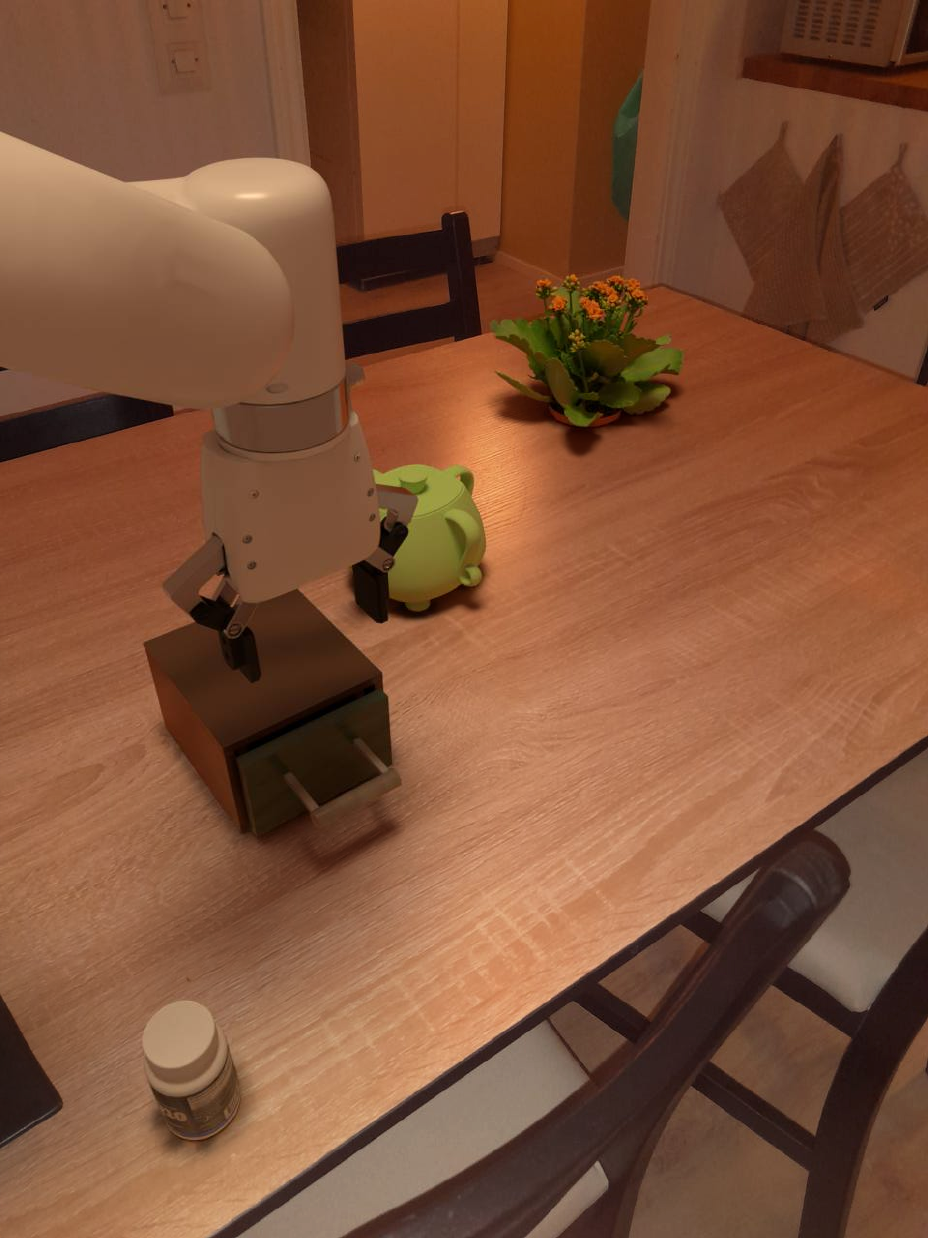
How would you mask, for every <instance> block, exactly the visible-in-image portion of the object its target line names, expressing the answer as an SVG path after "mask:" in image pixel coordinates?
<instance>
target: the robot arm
mask: <svg viewBox="0 0 928 1238" xmlns="http://www.w3.org/2000/svg"><path fill="white" fill-rule="evenodd" d="M335 231H336V230H335V216H334V210H333V202H332V196H331V193H330V189H329V187H328V185H327V183H326V181H325V180H324V179H323V177H322V176H321V175H320V174H319V173H318V172H317V171H316V170H314V169H313V168H311V167H310V166H309V165H306V164H303V163H300V162H297V161H293V160H289V159H283V158H275V157H243V158H232V159H227V160H220V161H217V162H216V161H215V162H213V163H209V164H207V165H204V166H202V167H199V168H197V169H195V170H193V171H191V172H190V173H188V175H185V176H180V177H172V178H171V177H170V178H165V179H164V178H163V179H154V180H152V179H151V180H140V181H122V180H121V179H118V178H115V177H113V176H110V175H108V174H105V173H103V172H100V171H98V170H95V169H93V168H91V167H88V166H85V165H83V164H81V163H78V162H75V161H74V160H71V159H68V158H65V157H63V156H61V155H58V154H57V153H56V154H55V153H54V152H51V151H49V150H46V149H44V148H41V147H39V146H37V145H35V144H31V143H29V142H27V141H25V140H22V139H20V138H17V137H15V136H13V135H9V134H7V133H5V132H3V131H0V367H1V368H4V369H8V370H10V371H11V370H12V371H15V372H19V373H23V374H25V375H31V376H34V377H38V378H42V379H46V380H49V381H53V382H58V383H62V384H66V385H71V386H74V387H79V388H83V389H87V390H93V391H98V392H101V393H108V394H112V395H117V396H121V397H127V398H133V399H138V400H144V401H147V402H152V403H157V404H162V405H163V404H164V405H169V406H173V407H178V408H179V407H180V408H186V409H193V410H211V414H212V420H213V421H212V422H213V425H214V426H213V427H214V428H213V429H210V430H208V431H205V432H204V433H203V435H202V437H201V444H200V445H201V446H200V459H199V460H200V463H199V466H200V467H199V481H200V483H199V485H200V502H201V503H200V504H201V505H200V506H201V512H202V513H201V514H202V525H203V533H204V541H205V543H204V544H203V545H202V546H200V548H198V549H197V550H196V551H195V552H194V553H193V554H192V555H190V557H189V558H187V559H186V560H185V561H184V562H183V563H182V564H181V565H180V566H179V567H178V568H177V569H176V570H175V571H173V573H171V574H170V575H169V576H168V577H167V578H165V580H164V581H163V582H162V585H161V589H162V591H163V592H164V593H165V595H166V596H167V597H168V598H169V599H170V601H171V602H173V603H174V604H175V605H176V606H177V607H178V608H179V609H181V610H182V611H183V612H184V613H185V614H186V615H188V616H189V617H190V618H191V619H192V620H193V622H196V623H198V624H200V625H203V626H205V627H208V628H211V629H214V630H217V631H218V634H219V639H220V644H221V649H222V653H223V657H224V659H225V661H226V663H227V665H228V666H229V667H230V668H231V669H232V670H233V671H234V670H236V669H239V670H240V671H241V672H242V673H243V674H244V676H245V677H246V678H247V679H248V680H249V681H250V682H251V683H254V682H256V681H258V680H260V677H261V670H260V664H259V658H258V653H257V647H256V641H255V636H254V634H253V632H252V631H251V629H250V628H249V627H248V626H247V624H248V622H249V620H250V619H251V617H252V615H253V613H254V612H255V610H256V608H257V606H258V604H259V603H260V602H263V601H266V600H269V599H272V598H275V597H278V596H280V595H283V594H285V593H288V592H290V591H293V590H295V589H298V590H299V589H300V588H302V587H304V586H307V585H309V584H312V583H314V582H317V581H319V580H321V579H324V578H326V577H329V576H331V575H333V574H335V573H338V572H340V571H343V570H344V569H347V568H348V567H349V566H352V572H353V573H352V572H351V573H352V583H353V593H354V595H353V596H354V602H355V605H356V606H357V607H359V609H361V610H362V611H363V612H364V613H365V614H366V615H367V616H368V617H369V618H370V619H372V620H373V621H374V622H375V623H376V624H381V625H382V624H383V623H386V622H388V621H389V611H388V602H389V601H390V598H389V583H388V572H389V571H391V570H392V569H393V568H394V566H395V558H394V555H395V554H396V552H397V551H398V549H399V548H400V546H401V545H402V543H403V542H404V540H405V539H406V537H407V536H408V532H409V531H408V528H407V526H408V523H410V522H411V519H412V517H413V514H414V511H415V509H416V506H417V504H418V497H417V496H416V495H414V494H413V493H411V492H410V491H409V490H407V489H406V488H402V487H395V486H389V485H382V484H376V483H375V478H374V473H373V469H374V468H373V464H372V459H371V455H370V451H369V447H368V443H367V440H366V437H365V434H364V430H363V427H362V425H361V422H360V419H359V417H358V414H357V412H356V411H355V410H354V409H352V402H351V401H352V400H351V391H353V390H354V389H355V387H358V386H362V385H364V383H365V380H366V377H365V376H366V375H365V370H364V369H363V367H362V365H361V364H360V363H359V362H357V361H354V362H351V363H347V362H346V355H345V353H346V352H345V343H344V329H343V316H342V305H341V292H340V279H339V266H338V255H337V254H338V253H337V242H336V232H335ZM379 508H380V509H388V510H387V513H386V514H387V516H386V517H384V518H383V519H382V521H381V522H380V514H379ZM222 575H223V576H222ZM214 576H217V577H219V576H222V578H221V580H220V582H219V584H218V585H217V587H216V589H215V591H214V593H213V595H212V596H211V597H210V598H208V597H207V596H203V595H201V594H199V592H200V590H201V589H202V588H203V586H205V585H206V584H207V583H208V582H209V581H210V580H211V579H212V578H214ZM237 596H238V597H237ZM236 597H237V598H236ZM235 599H236V600H235ZM233 603H234V604H233ZM232 607H233V608H232Z"/></svg>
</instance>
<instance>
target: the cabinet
mask: <svg viewBox="0 0 928 1238" xmlns="http://www.w3.org/2000/svg"><path fill="white" fill-rule="evenodd" d="M231 607H232V608H233V606H231ZM247 626H248V627H249V628H250V629H251V631H252V632H253V634H254V636H255V641H256V647H257V653H258V658H259V664H260V670H261V677H260V680H258V681H256V682H254V683H251V682H250V681H249V680H248V679H247V678H246V677H245V676H244V674H243V673H242V672H241V671H240V670H239V669H236V670H234V671H233V670H232V669H231V668H230V667H229V666H228V665H227V663H226V661H225V659H224V657H223V653H222V649H221V644H220V639H219V634H218V631H217V630H214V629H211V628H208V627H205V626H203V625H200V624H198V623H196V622H195V621H193V622H190V623H188V624H185V625H183V626H181V627H178V628H176V629H173V630H170V631H168V632H166V633H163V634H161V635H157V636H156V637H153V638H151V639H148V640H146V641H143V643H142V644H143V647H144V652H145V656H146V659H147V663H148V666H149V670H150V674H151V677H152V681H153V685H154V688H155V693H156V696H157V700H158V703H159V707H160V710H161V715H162V718H163V722H164V725H165V728H166V729H167V730H168V732H169V733H170V735H171V736H172V737H173V739H174V740H175V742H176V743H177V745H178V746H179V748H180V749H181V751H182V753H184V755H185V756H186V757H187V759H188V760H189V762H190V763H191V764H192V766H193V767H194V769H195V770H196V772H197V773H198V774H199V776H200V777H201V779H202V780H203V781H204V783H205V784H206V786H207V787H208V788H209V790H210V791H211V793H212V794H213V796H214V797H215V799H216V800H217V801H218V803H219V804H220V805H221V807H222V809H223V810H224V812H226V814H227V815H228V817H229V819H231V821H232V823H233V824H234V825H235V826H236V828H237V830H238V831H239V832H240V833H241V834H244V833H246V832H248V831H249V830H252V829H251V827H250V823H249V819H248V814H247V809H246V804H245V800H244V796H243V791H242V786H241V781H240V776H239V772H238V767H237V762H236V757H235V753H234V751H235V750H237V749H239V748H241V747H243V746H246V745H248V744H250V743H252V742H254V741H256V740H258V739H260V738H262V737H264V736H266V735H269V734H271V733H273V732H275V731H277V730H279V729H281V728H283V727H285V726H287V725H289V724H292V723H294V722H296V721H298V720H300V719H302V718H304V717H306V716H308V715H310V714H312V713H315V712H317V711H319V710H321V709H323V708H325V707H327V706H329V705H331V704H333V703H335V702H338V701H340V700H342V699H344V698H346V697H348V696H350V695H352V694H354V693H356V692H358V691H361V690H363V689H364V696H365V695H367V694H369V693H371V692H373V691H375V690H377V689H381V690H382V691H383V692H384V678H383V677H384V676H383V672H382V671H381V670H380V669H379V667H377V665H375V664H374V663H373V662H372V661H371V660H370V659H369V658H368V656H366V655H365V654H364V653H363V652H362V651H361V649H359V648H358V647H357V646H356V645H355V644H354V643H353V642H352V641H351V640H350V638H348V637H347V636H346V635H345V634H344V633H343V632H342V631H341V630H340V629H339V628H338V627H337V626H336V625H335V624H334V623H333V622H332V621H331V620H330V619H329V618H328V617H327V616H326V615H325V614H324V613H323V612H322V611H321V610H320V609H318V607H316V605H315V604H314V603H313V602H311V600H310V599H309V598H308V597H307V596H305V594H303V592H302V591H300V590H299V588H298V589H295V590H293V591H290V592H288V593H285V594H283V595H280V596H278V597H275V598H272V599H269V600H266V601H263V602H260V603H259V604H258V606H257V608H256V610H255V612H254V613H253V615H252V617H251V619H250V620H249V622H248V624H247Z"/></svg>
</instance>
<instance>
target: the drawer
mask: <svg viewBox="0 0 928 1238" xmlns="http://www.w3.org/2000/svg"><path fill="white" fill-rule="evenodd" d="M390 718H391V717H390V704H389V695H388V694H387V693H386V692H384V690H383V691H382V690H381V689H377V690H375V691H373V692H371V693H369V694H367V695H365V696H364V689H363V690H361V691H358V692H356V693H354V694H352V695H350V696H348V697H346V698H344V699H342V700H340V701H338V702H335V703H333V704H331V705H329V706H327V707H325V708H323V709H321V710H319V711H317V712H315V713H312V714H310V715H308V716H306V717H304V718H302V719H300V720H298V721H296V722H294V723H292V724H289V725H287V726H285V727H283V728H281V729H279V730H277V731H275V732H273V733H271V734H269V735H266V736H264V737H262V738H260V739H258V740H256V741H254V742H252V743H250V744H248V745H246V746H243V747H241V748H239V749H237V750H235V751H234V753H235V757H236V762H237V767H238V772H239V776H240V781H241V786H242V791H243V796H244V800H245V804H246V809H247V814H248V819H249V823H250V827H251V829H250V830H252V832H253V833H254V835H255V836H256V837H259V836H261V835H263V834H265V833H267V832H269V831H270V830H273V829H274V828H276V827H278V826H280V825H282V824H284V823H285V822H288V821H289V820H292V819H293V818H295V817H297V816H299V815H302V814H303V813H304V812H306V811H309V813H310V814H309V815H310V819H311V821H312V823H313V825H314V827H315V828H316V829H318V830H322V829H325V827H328V826H329V825H332V823H334V822H337V821H338V820H339V819H342V818H344V817H346V816H348V815H349V814H351V813H353V812H355V811H357V810H358V809H360V808H363V807H364V806H366V805H368V804H370V803H372V802H373V801H375V800H378V799H379V798H381V797H383V796H384V795H386V794H388V793H389V792H391V791H393V790H395V789H397V788H399V787H401V786H402V785H403V782H402V778H401V775H400V773H399V772H398V771H397V770H396V769H395V768H390V767H391V766H393V753H392V752H393V751H392V736H391V735H392V733H391V720H390ZM389 768H390V769H389ZM377 774H379V775H377ZM374 775H376V777H374V778H372V779H370V780H368V781H366V782H364V783H362V784H360V783H361V782H363V781H365V780H367V779H368V778H370V777H372V776H374ZM357 784H360V785H359V786H356V785H357ZM354 786H356V787H355V788H353V787H354ZM350 788H353V789H350ZM348 789H350V790H349V791H347V792H345V791H346V790H348ZM342 792H345V793H344V794H342V795H340V796H338V794H340V793H342ZM335 796H338V797H335ZM333 797H335V798H334V799H332V800H330V801H329V802H326V803H325V804H322V805H321V806H319V805H320V804H321V803H324V802H325V801H327V800H329V799H331V798H333Z"/></svg>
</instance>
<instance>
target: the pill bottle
mask: <svg viewBox="0 0 928 1238" xmlns="http://www.w3.org/2000/svg"><path fill="white" fill-rule="evenodd" d="M141 1047H142V1051H143V1054H144V1055H143V1071H144V1075H145V1078H146V1081H147V1083H148V1085H149V1088H150V1089H151V1092H152V1095H153V1097H154V1100H155V1102H156V1104H157V1106H158V1109H159V1111H160V1114H161V1117H162V1119H163V1121H164V1123H165V1124H166V1126H167V1128H168V1129H169V1131H170V1132H172V1133H173V1135H175V1136H177V1137H179V1138H182V1139H185V1140H190V1141H199V1140H204V1139H208V1138H210V1137H212V1136H214V1135H216V1134H218V1133H219V1132H220V1131H222V1130H223V1129H224V1128H225V1127H226V1126H227V1125H229V1123H230V1122H231V1121H232V1119H233V1118H234V1117H235V1115H236V1113H237V1111H238V1108H239V1106H240V1103H241V1102H240V1101H241V1095H242V1094H241V1085H240V1080H239V1076H238V1073H237V1069H236V1067H235V1063H234V1060H233V1056H232V1052H231V1049H230V1045H229V1042H228V1037H227V1035H226V1034H225V1031H224V1029H223V1028H222V1027H221V1025H220V1024H219V1023H218V1022H217V1021H215V1019H214V1017H213V1014H212V1013H211V1011H210V1010H209V1009H208V1007H206V1006H205V1005H204V1004H202V1003H199V1002H197V1001H194V1000H187V999H186V1000H177V1001H174V1002H173V1001H172V1002H170V1003H168V1004H166V1005H164V1006H162V1007H161V1008H159V1009H158V1010H157V1011H156V1012H154V1014H152V1016H151V1017H150V1018H149V1020H148V1021H147V1022H146V1024H145V1026H144V1029H143V1032H142V1035H141Z"/></svg>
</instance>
